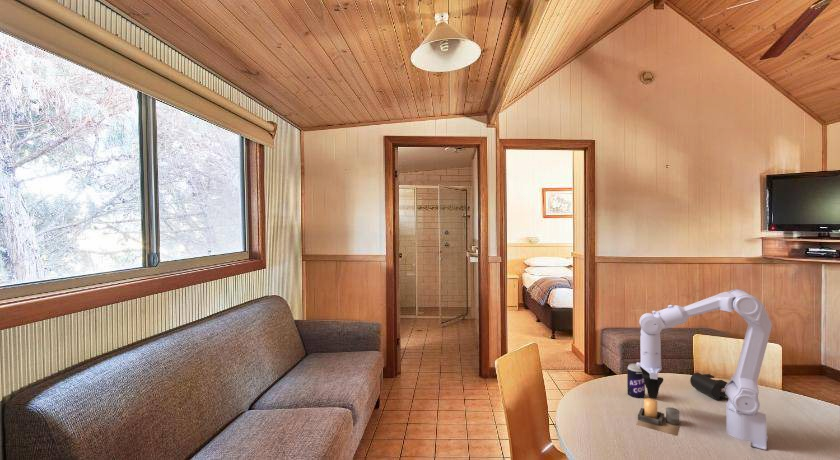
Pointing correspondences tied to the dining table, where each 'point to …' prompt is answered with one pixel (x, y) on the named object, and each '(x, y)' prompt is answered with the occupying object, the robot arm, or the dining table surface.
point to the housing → (661, 421)
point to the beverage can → (635, 381)
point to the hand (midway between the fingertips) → (650, 392)
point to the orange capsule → (650, 408)
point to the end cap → (709, 385)
